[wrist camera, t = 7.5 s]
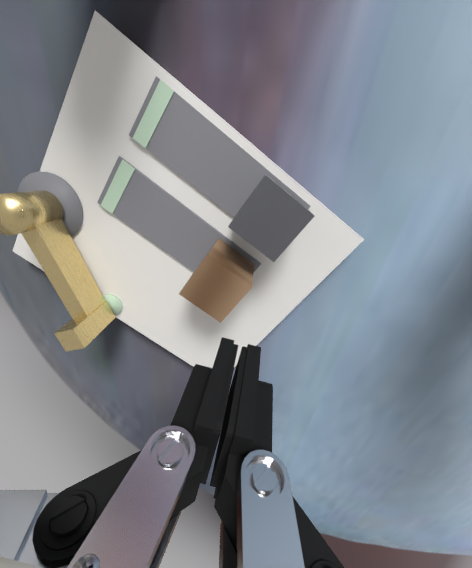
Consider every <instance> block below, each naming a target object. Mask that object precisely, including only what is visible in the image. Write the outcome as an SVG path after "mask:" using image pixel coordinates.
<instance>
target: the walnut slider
mask: <svg viewBox="0 0 472 568" xmlns="http://www.w3.org/2000/svg"><path fill="white" fill-rule="evenodd" d="M253 273H254V264H253V263H252V262H250V261H249V260H248V259H246V258H245V257H244V256H242V255H241V254H240V253H238V252H237V251H236V250H234V249H233V248H232V247H231V246H229V245H228V244H227V243H225V242H224V241H223V240H221V239H220V238H219V239H218V240H217V241H216V243H215V244H214V245H213V247H212V248H211V250H210V251H209V252H208V254H207V255H206V256H205V258H204V259H203V260H202V262H201V263H200V265H199V266H198V267H197V269H196V270H195V271H194V273H193V274H192V276H191V277H190V278H189V280H188V281H187V283H186V284H185V286H184V287H183V288H182V290H181V291H180V293H179V295H181V296H182V297H184V298H185V299H187V300H188V301H190V302H191V303H192V304H194V305H195V306H197V307H198V308H200V309H201V310H203V311H204V312H205V313H207V314H208V315H210V316H211V317H213V318H214V319H216V320H217V321H219V322H220V323H221V322H222V321H223V320H224V319H225V317H226V316H227V315H228V314H229V313H230V312H231V311H232V309H233V308H234V307H235V306H236V305H237V304H238V303H239V301H240V300H241V299H242V298H243V297H244V296H245V295H246V294H247V292H248V291H249V290H250V289H251V288H252V282H253Z"/></svg>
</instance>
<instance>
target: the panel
mask: <svg viewBox="0 0 472 568" xmlns="http://www.w3.org/2000/svg"><path fill="white" fill-rule="evenodd" d="M265 174H267V175H268V176H269V177H270V178H272V179H273V180H274V181H275V182H276V183H278V184H279V185H280V186H281V187H282V188H284V189H285V190H286V191H287V192H288V193H290V194H291V195H292V196H293V197H294V198H296V199H297V200H298V201H299V202H300V203H301V204H303V205H304V206H305V207H306V208H307V209H308V210H309V211H310V212H311V213H312V214H313V215H314V217H313V219H312V220H311V221H310V222H309V223H308V224H307V225H306V227H305V228H304V229H303V230H302V231H301V232H300V233H299V234H298V236H297V237H296V238H295V239H294V240H293V241H292V242H291V244H290V245H289V246H288V247H287V248H286V249H285V250H284V252H283V253H282V254H281V255H280V256H279V257H278V258H277V259H276V261H275V262H273V261H272V260H270V259H269V258H268V257H266V256H265V255H264V254H262V253H261V252H260V251H259V250H257V249H256V248H255V247H253V246H252V245H251V244H249V243H248V242H247V241H245V240H244V239H243V238H242V237H240V236H239V235H238V234H236V233H235V232H234V231H232V230H231V229H230V228H229V227H228V226H229V224H230V223H231V221H232V220H233V218H234V217H235V215H236V214H237V213H238V211H239V210H240V209H241V207H242V206H243V204H244V203H245V202H246V200H247V199H248V198H249V196H250V195H251V194H252V192H253V191H254V189H255V188H256V187H257V185H258V184H259V183H260V181H261V180H262V179H263V177H264V176H265ZM39 190H45V191H48V192H50V193H52V194H53V195H55V196H56V197H57V198H58V200H59V201H60V203H61V205H62V208H63V218H62V221H63V222H64V224H65V226H66V228H67V230H68V232H69V234H70V236H71V237H72V239H73V241H74V243H75V245H76V247H77V249H78V251H79V252H80V254H81V256H82V258H83V260H84V262H85V264H86V266H87V268H88V269H89V271H90V273H91V275H92V277H93V279H94V281H95V283H96V284H97V286H98V288H99V290H100V292H101V294H102V296H103V298H104V299H105V301H107V302H108V304H109V305H110V307H111V309H112V311H113V313H114V315H115V317H116V318H118V319H120V320H121V321H123V322H124V323H126V324H127V325H129V326H130V327H132V328H134V329H135V330H137V331H138V332H140V333H141V334H143V335H145V336H146V337H148V338H149V339H151V340H152V341H154V342H156V343H157V344H159V345H160V346H162V347H163V348H165V349H166V350H168V351H170V352H171V353H173V354H174V355H176V356H177V357H179V358H181V359H182V360H184V361H185V362H187V363H188V364H190V365H191V366H193V367H194V366H195V364H198V365H202V366H206V367H210V368H213V365H214V361H215V358H216V355H217V352H218V348H219V345H220V342H221V339H222V337H224V338H227V339H231V340H234V344H236V345H238V350H237V355H236V360H235V365H234V367H235V366H236V365H237V363H238V359H239V356H240V352H241V349H242V346H244V347H247V345H248V344H250V345H254V346H256V345H257V344H258V343H259V342H260V341H262V340H263V339H264V338H265V337H266V336H267V335H268V334H269V333H270V332H271V331H272V330H273V329H274V328H275V327H276V326H277V325H278V324H279V323H280V322H281V321H282V320H283V319H284V318H285V317H286V316H287V315H288V314H289V313H290V312H291V311H292V310H293V309H294V308H295V307H296V306H297V305H298V304H299V303H300V302H301V301H302V300H303V299H304V298H305V297H306V296H307V295H308V294H309V293H310V292H311V291H312V290H313V289H314V288H315V287H316V286H317V285H318V284H319V283H320V282H321V281H322V280H323V279H324V278H326V277H327V276H328V275H329V274H330V273H331V272H332V271H333V270H334V269H335V268H336V267H337V266H338V265H339V264H340V263H341V262H342V261H343V260H344V259H345V258H346V257H347V256H348V255H349V254H350V253H351V252H352V251H353V250H354V249H355V248H356V247H357V246H358V245H359V244H360V243H361V242H362V241H363V240H364V239H363V238H362V237H361V236H360V235H358V234H357V233H356V232H355V231H354V230H352V229H351V228H350V227H349V226H348V225H347V224H345V223H344V222H343V221H342V220H341V219H340V218H338V217H337V216H336V215H335V214H334V213H333V212H331V211H330V210H329V209H328V208H327V207H325V206H324V205H323V204H322V203H321V202H320V201H318V200H317V199H316V198H315V197H314V196H313V195H311V194H310V193H309V192H308V191H307V190H306V189H304V188H303V187H302V186H301V185H300V184H298V183H297V182H296V181H295V180H294V179H293V178H291V177H290V176H289V175H288V174H287V173H286V172H284V171H283V170H282V169H281V168H280V167H278V166H277V165H276V164H275V163H274V162H273V161H271V160H270V159H269V158H268V157H267V156H266V155H264V154H263V153H262V152H261V151H260V150H259V149H257V148H256V147H255V146H254V145H253V144H251V143H250V142H249V141H248V140H247V139H246V138H244V137H243V136H242V135H241V134H240V133H239V132H237V131H236V130H235V129H234V128H233V127H232V126H230V125H229V124H228V123H227V122H226V121H224V120H223V119H222V118H221V117H220V116H219V115H217V114H216V113H215V112H214V111H213V110H212V109H210V108H209V107H208V106H207V105H206V104H205V103H203V102H202V101H201V100H200V99H199V98H197V97H196V96H195V95H194V94H193V93H192V92H190V91H189V90H188V89H187V88H186V87H185V86H183V85H182V84H181V83H180V82H179V81H178V80H176V79H175V78H174V77H173V76H172V75H170V74H169V73H168V72H167V71H166V70H165V69H163V68H162V67H161V66H160V65H159V64H158V63H156V62H155V61H154V60H153V59H152V58H150V57H149V56H148V55H147V54H146V53H145V52H143V51H142V50H141V49H140V48H139V47H138V46H136V45H135V44H134V43H133V42H132V41H131V40H129V39H128V38H127V37H126V36H125V35H123V34H122V33H121V32H120V31H119V30H118V29H116V28H115V27H114V26H113V25H112V24H111V23H109V22H108V21H107V20H106V19H105V18H104V17H102V16H101V15H100V14H99V13H98V12H96V11H95V12H94V15H93V18H92V21H91V24H90V26H89V29H88V32H87V35H86V38H85V41H84V44H83V47H82V50H81V53H80V56H79V59H78V61H77V64H76V67H75V70H74V73H73V76H72V79H71V82H70V85H69V88H68V91H67V93H66V96H65V99H64V102H63V105H62V108H61V111H60V114H59V117H58V120H57V123H56V126H55V128H54V131H53V134H52V137H51V140H50V143H49V146H48V149H47V152H46V155H45V158H44V160H43V163H42V166H41V169H40V172H34V173H31V174H29V175H27V176H26V177H25V178H24V179H23V180H22V181H21V183H20V186H19V189H18V192H29V191H39ZM219 238H220V239H221V240H223V241H224V242H225V243H227V244H228V245H229V246H231V247H232V248H233V249H234V250H236V251H237V252H238V253H240V254H241V255H242V256H244V257H245V258H246V259H248V260H249V261H250V262H252V263H253V264H254V273H253V282H252V288H251V289H250V290H249V291H248V292H247V294H246V295H245V296H244V297H243V298H242V299H241V300H240V301H239V303H238V304H237V305H236V306H235V307H234V308H233V309H232V311H231V312H230V313H229V314H228V315H227V316H226V317H225V319H224V320H223V321H222V322H221V323H220V322H219V321H217V320H216V319H214V318H213V317H211V316H210V315H208V314H207V313H205V312H204V311H203V310H201V309H200V308H198V307H197V306H195V305H194V304H192V303H191V302H190V301H188V300H187V299H185V298H184V297H182V296H181V295H179V293H180V291H181V290H182V288H183V287H184V286H185V284H186V283H187V281H188V280H189V278H190V277H191V276H192V274H193V273H194V271H195V270H196V269H197V267H198V266H199V265H200V263H201V262H202V260H203V259H204V258H205V256H206V255H207V254H208V252H209V251H210V250H211V248H212V247H213V245H214V244H215V243H216V241H217V240H218V239H219ZM13 252H15V253H16V254H18V255H19V256H21V257H23V258H24V259H26V260H27V261H29V262H30V263H32V264H34V265H35V266H37V267H38V268H40V269H41V270H43V268H42V267H41V265H40V264H39V262H38V260H37V259H36V257H35V255H34V254H33V252H32V250H31V249H30V247H29V245H28V244H27V242H26V240H25V239H24V237H23V235H22V234H21V233H19V234H18V236H17V239H16V242H15V245H14V248H13ZM43 271H44V270H43Z"/></svg>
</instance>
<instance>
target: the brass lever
mask: <svg viewBox="0 0 472 568" xmlns="http://www.w3.org/2000/svg"><path fill="white" fill-rule="evenodd" d="M62 218H63V208H62V205H61V203H60V201H59V200H58V198H57V197H56V196H55V195H53V194H52V193H50V192H48V191H45V190H39V191H29V192H18V193H7V194H0V233H1V234H4V235H9V236H10V235H15V234H19V233H21V234H22V235H23V237H24V239H25V240H26V242H27V244H28V245H29V247H30V249H31V250H32V252H33V254H34V255H35V257H36V259H37V260H38V262H39V264H40V265H41V267H42V268H43V270H44V272H45V273H46V275H47V277H48V278H49V280H50V282H51V283H52V285H53V287H54V288H55V290H56V292H57V293H58V295H59V297H60V298H61V300H62V302H63V303H64V305H65V307H66V308H67V310H68V312H69V313H70V315H71V317H72V318H73V319H72V320H71V321H69V322H68V323H67V324H66V325H64V326H63V327H62V328H60V329H59V330H58V331H57V332H55V333H54V334H55V335H56V337H57V338H58V340H59V341H60V343H61V344H62V346H63V348H64V349H65V351H71V350H76V349H82V348H85V347H86V346H87V345H88V344H89V343H90V342H91V341H92V340H93V339H94V338H95V337H96V336H97V335H98V334H99V333H100V332H101V331H102V330H103V329H104V328H105V327H106V326H107V325H108V324H109V323H110V322H111V321H112V320H113V319H115V318H116V317H115V315H114V313H113V311H112V309H111V307H110V305H109V304H108V302H107V301H105V299H104V298H103V296H102V294H101V292H100V290H99V288H98V286H97V284H96V283H95V281H94V279H93V277H92V275H91V273H90V271H89V269H88V268H87V266H86V264H85V262H84V260H83V258H82V256H81V254H80V252H79V251H78V249H77V247H76V245H75V243H74V241H73V239H72V237H71V236H70V234H69V232H68V230H67V228H66V226H65V224H64V222H63V221H62Z"/></svg>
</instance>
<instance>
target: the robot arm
mask: <svg viewBox="0 0 472 568" xmlns="http://www.w3.org/2000/svg"><path fill="white" fill-rule="evenodd" d="M237 350H238V345H236V344H234V340H231V339H227V338H224V337H222V339H221V342H220V345H219V348H218V352H217V355H216V358H215V361H214V365H213V368H210V367H206V366H202V365H198V364H195V366H194V368H193V371H192V373H191V376H190V378H189V381H188V383H187V386H186V388H185V391H184V393H183V396H182V398H181V401H180V403H179V406H178V408H177V411H176V413H175V416H174V418H173V421H172V423H171V426H166V427H163V428H160V429H159V430H157V431H156V432H155V433H154V434H153V435H152V436H151V437H150V438H149V440H148V441H147V443H146V444H145V446H144V448H143V449H142V450H141V451H139V452H137V453H135V454H133V455H131V456H129V457H127V458H126V459H124V460H122V461H119V462H118V463H116V464H114V465H112V466H110V467H108V468H106V469H104V470H102V471H100V472H98V473H96V474H94V475H92V476H90V477H88V478H86V479H84V480H82V481H81V482H79V483H77V484H75V485H73V486H71V487H69V488H67V489H65V490H64V491H62V492H60V493H47V491H46V490H0V568H159V565H160V563H161V561H162V558H163V556H164V553H165V551H166V548H167V546H168V543H169V541H170V538H171V536H172V533H173V531H174V528H175V526H176V524H177V521H178V519H179V516H180V513H181V511H182V510H183V509H184V508H186V507H187V506H189V505H190V504H191V503H193V502H194V501H195V499H196V495H197V492H198V488H199V484H200V483H203V484H206V480H207V477H208V473H209V470H210V466H211V463H212V460H213V456H214V453H215V449H216V446H217V443H218V439H219V436H220V439H219V444H218V449H217V454H216V459H215V463H214V468H213V473H212V478H211V483H210V486H213V487H216V489H215V494H214V498H215V499H216V500H215V506H214V507H215V509H216V510H217V513H218V515H219V516H220V518H221V525H220V552H219V553H220V554H219V568H344V567H343V566H342V564H341V563H340V561H339V560H338V558H337V557H336V556H335V554H334V553H333V552H332V550H331V549H330V547H329V546H328V545H327V543H326V542H325V540H324V539H323V538H322V536H321V535H320V533H319V532H318V531H317V529H316V528H315V527H314V525H313V524H312V522H311V521H310V520H309V518H308V517H307V515H306V514H305V513H304V511H303V510H302V509H301V507H300V506H299V504H298V503H297V502H296V500H295V499H294V497H293V496H292V490H291V485H290V479H289V475H288V472H287V469H286V467H285V466H284V464H283V462H282V461H281V460H280V459H279V458H278V457H277V456H276V455H275V454H273V453H272V403H273V386H272V384H270V383H266V382H262V381H258V379H259V366H260V353H261V347H258V346H254V345H250V344H248V345H247V347H244V346H242V349H241V352H240V356H239V359H238V363H237V366H236V370H235V373H234V377H233V380H232V384H231V379H232V374H233V370H234V365H235V360H236V355H237ZM230 384H231V387H230ZM229 389H230V391H229ZM228 394H229V395H228ZM227 399H228V400H227ZM226 404H227V405H226ZM222 423H223V424H222ZM221 428H222V429H221ZM220 432H221V434H220Z"/></svg>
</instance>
